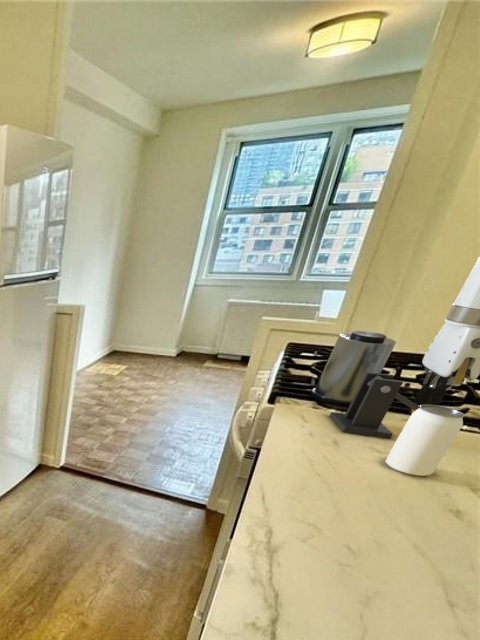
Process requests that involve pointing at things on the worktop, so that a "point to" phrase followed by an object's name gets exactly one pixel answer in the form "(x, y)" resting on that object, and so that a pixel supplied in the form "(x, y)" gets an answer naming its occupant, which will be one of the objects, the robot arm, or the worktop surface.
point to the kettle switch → (401, 399)
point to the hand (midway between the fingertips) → (425, 404)
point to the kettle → (351, 366)
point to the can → (425, 440)
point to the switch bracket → (369, 406)
